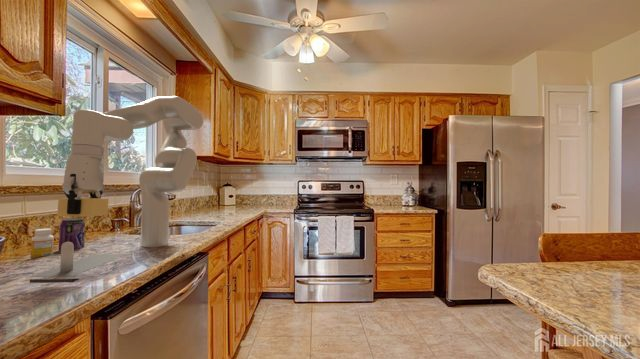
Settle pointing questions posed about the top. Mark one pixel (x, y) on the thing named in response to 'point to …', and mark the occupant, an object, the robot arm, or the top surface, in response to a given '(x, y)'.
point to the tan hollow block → (85, 207)
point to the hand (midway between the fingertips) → (83, 212)
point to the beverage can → (72, 232)
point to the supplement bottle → (42, 243)
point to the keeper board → (73, 265)
